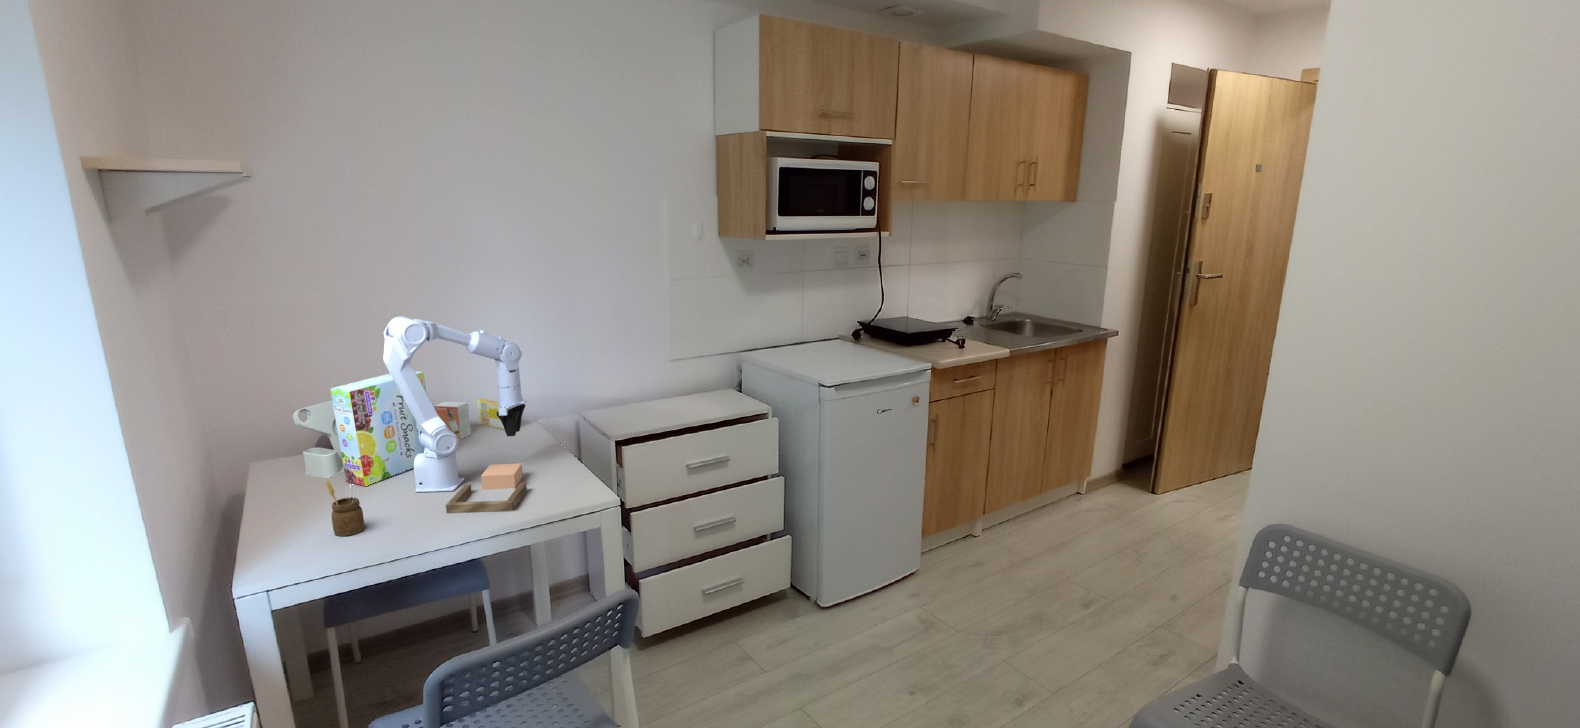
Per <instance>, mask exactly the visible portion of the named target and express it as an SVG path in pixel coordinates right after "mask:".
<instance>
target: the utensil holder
mask: <svg viewBox="0 0 1580 728" xmlns="http://www.w3.org/2000/svg"><path fill="white" fill-rule="evenodd" d="M324 484H325V486H326V487H325V488H327V491H328V493H329V495H330V496H332V498H333V500H334V501H333V502H332V503H331V510H332V512H331V515H330V516H331V525H332V528H333V529H332V530H333V532H334V534H335V535H336V536H337V537H348V536H353V535H356V534H358V533H360V532H362V531H363V530H364V529H365V518H364V512H363V508H362V506H361V505H360V504H361V503H360V500H359V498H358V497H356V496H353V497H352V496H347V494H345V497H343V498H338V499H337V498H336V496H335V489H334V488H333V485H332V483H331V481H330V478H328V479H327V480H325V481H324ZM349 486H350V487H349ZM351 486H352V487H353V493H355V491H356V489H357V491H356V495H358V493H359V488H356V489H355V487H358V486H357V484H353V483H350V484H349V485H347V486H346V490H345V491H346V492H345V493H347V491H348V487H349V489H351V488H352V487H351ZM348 494H351V490H349V492H348Z"/></svg>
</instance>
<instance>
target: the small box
mask: <svg viewBox="0 0 1580 728" xmlns="http://www.w3.org/2000/svg"><path fill="white" fill-rule="evenodd" d="M433 406H434V408H435V410H436V412H437V414H438V416H439V417H440V418H441V420H442V421H443V422H444V423H445V424H446V426H447V428H448V429H449V430H450V431H451V432H453V433H454V434H455V435H456V436H457V438H458V439H461V440H463V439H464V437H465V438H466V436H467V437H468V435H469V436H470V435H471V434H472V431H471V430H472V429H471V422H470V409H469V402H467V401H464V402H462V401H461V402H459V401H449V400H446V401H445V400H444V401H442V402H440V403H437V404H435V405H433ZM462 438H463V439H462Z"/></svg>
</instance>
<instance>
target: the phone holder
mask: <svg viewBox="0 0 1580 728" xmlns="http://www.w3.org/2000/svg"><path fill="white" fill-rule="evenodd" d="M300 413H304V414H305V415H306V418H307V419H306V420H305V421H302V420H301V419H300V418H299V414H300ZM292 419H293V422H294V424H295V426H296V427H299V428H302V429H305V430H308V431H311V432H315V433H318V434H321V435H325V436H327V437H328V438H329V441H330V444H331V446H332V448H333V449H330V448H323V447H311V448H307V449H305V450H303V451H302V456H303V461H304V468H305V470H304V475H305V474H306V475H305V476H309V475H310V477H316V478H320V477H322V479H326V478H328V479H331V478H330V477H333V478H336V477H337V476H336V475H338V474H340V473H344V466H343V461H342V455H341V449H340V443H339V437H338V431H337V425H336V420H335V414H334V408H333V402H332V399H331V400H328V401H324V402H319V403H315V404H312V405H309V406H305V407H303V408H299V409H297V410H295V411H294V413H293V414H292ZM344 474H345V473H344ZM335 476H336V477H335ZM338 476H339V475H338Z"/></svg>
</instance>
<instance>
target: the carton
mask: <svg viewBox="0 0 1580 728" xmlns="http://www.w3.org/2000/svg"><path fill="white" fill-rule="evenodd" d="M480 478H481V479H480V482H481V490H482V491H485V490H486V491H489V490H504V489H505V490H507V489H508V488H509V489H510V488H512V489H516V488H517V487H518V485H519V484H520V482H521V480H522V478H523V466H522V463H521V462H519V463H499V464H496V463H495V464H489V465H488V467H487V468H486V469H485V470H484V471H483V473H482V474H481V475H480ZM519 481H520V482H519ZM515 487H516V488H515Z"/></svg>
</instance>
